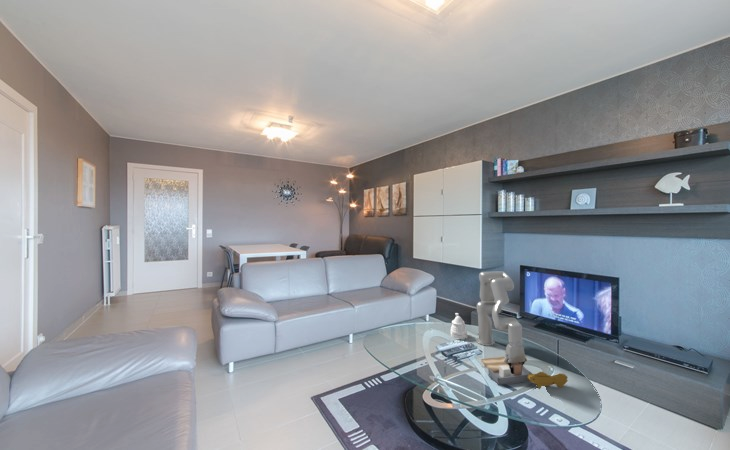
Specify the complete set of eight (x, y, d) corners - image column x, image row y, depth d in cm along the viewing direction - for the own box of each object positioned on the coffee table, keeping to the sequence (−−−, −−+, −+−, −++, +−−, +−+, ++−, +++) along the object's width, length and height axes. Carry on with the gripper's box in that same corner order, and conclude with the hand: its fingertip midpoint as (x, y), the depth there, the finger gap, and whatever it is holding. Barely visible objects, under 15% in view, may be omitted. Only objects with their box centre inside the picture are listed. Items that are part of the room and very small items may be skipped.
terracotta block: (510, 371, 179) (509, 361, 178) (517, 370, 179) (516, 361, 179) (514, 375, 174) (514, 365, 174) (521, 374, 175) (521, 365, 174)
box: (488, 374, 181) (488, 368, 181) (521, 370, 183) (521, 364, 183) (498, 385, 170) (498, 378, 170) (533, 381, 172) (533, 374, 172)
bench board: (481, 361, 195) (481, 359, 195) (503, 359, 197) (503, 356, 197) (492, 373, 182) (492, 370, 181) (516, 370, 183) (516, 367, 183)
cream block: (499, 375, 178) (499, 365, 178) (506, 374, 179) (506, 365, 178) (503, 379, 174) (503, 369, 173) (510, 378, 174) (510, 369, 174)
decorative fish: (528, 387, 164) (532, 370, 164) (525, 384, 167) (528, 367, 167) (566, 393, 165) (569, 376, 165) (562, 390, 168) (565, 373, 168)
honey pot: (447, 334, 240) (446, 312, 239) (460, 331, 243) (460, 310, 242) (456, 340, 227) (456, 318, 226) (470, 337, 231) (470, 315, 230)
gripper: (524, 339, 180) (524, 367, 181) (498, 341, 178) (499, 370, 180) (532, 344, 173) (532, 374, 174) (505, 347, 171) (506, 377, 172)
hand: (515, 372), depth 177 cm, fingers closed on terracotta block, 4 cm apart
